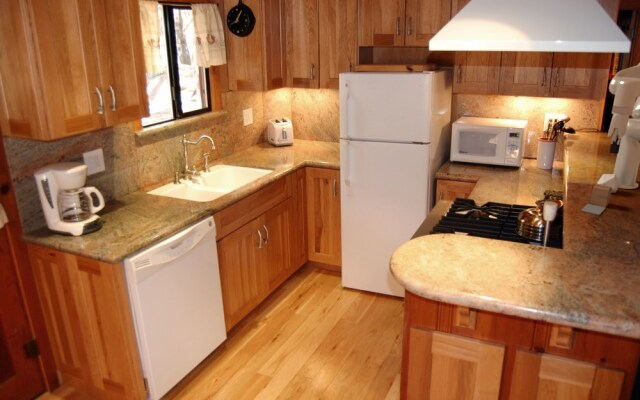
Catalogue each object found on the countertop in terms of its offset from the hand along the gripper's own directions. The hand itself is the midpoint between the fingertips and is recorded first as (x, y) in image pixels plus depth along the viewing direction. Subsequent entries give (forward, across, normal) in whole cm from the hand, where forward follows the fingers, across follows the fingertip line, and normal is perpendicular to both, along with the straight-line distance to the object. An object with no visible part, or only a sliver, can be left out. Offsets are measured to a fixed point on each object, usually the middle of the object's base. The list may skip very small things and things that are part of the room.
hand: (613, 153), depth 217 cm
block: (+21, +8, 0) cm, 23 cm away
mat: (+21, +17, 0) cm, 27 cm away
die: (+21, -12, -2) cm, 24 cm away
